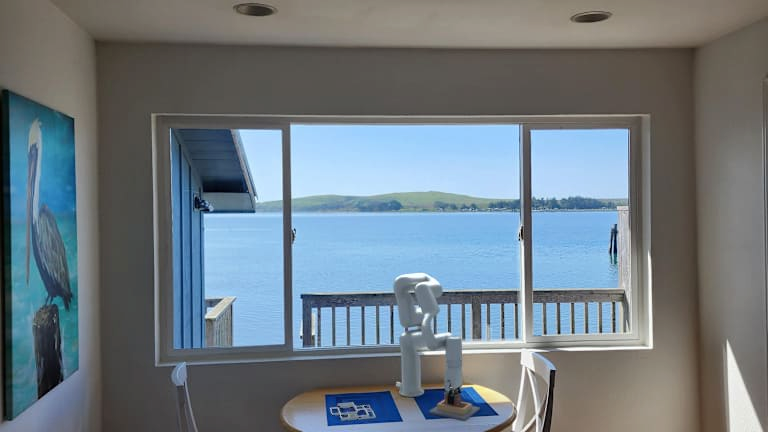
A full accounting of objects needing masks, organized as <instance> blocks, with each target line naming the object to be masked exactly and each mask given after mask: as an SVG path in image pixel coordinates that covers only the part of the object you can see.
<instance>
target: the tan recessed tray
mask: <svg viewBox="0 0 768 432" xmlns="http://www.w3.org/2000/svg"><path fill="white" fill-rule="evenodd" d="M480 409H481V407H479V406H474V405H473V403H470V402H465V401H461V408H460V407H455V406H450V405H445V398H444V399H442V400H441V401H439V402H438V403H437V404H436V406H435V407H433V408H431V409H430V410H428V414H430V415H436V416H440V417H444V418H450V419H455V420H460V421H465V422H466V421H467V420H468V419H470V418H471V417H473V416H474V415H475V414H476V413H477V412H478V411H480Z"/></svg>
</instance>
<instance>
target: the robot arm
mask: <svg viewBox="0 0 768 432" xmlns="http://www.w3.org/2000/svg"><path fill="white" fill-rule="evenodd" d="M392 286H393V287H392V288H393V293H394V295H395V300H396V303H397V312H398V321H399V324H400V326H401V327H402V328H405V329H407V328H408V330H405V331H403V332H402V333H401V334H400V335H399V337H398V341H399V348H400V355H401V357H400V359H401V382H400V381H396V383H395V387H396V388H399V390H398V394H399V395H401V396H403V397H408V398H409V397H411V398H413V397H414V398H415V397H420V396H422V395H424V393H425V390H424V388H422V382H421V357H420V354H419V353H418V351H417V349H422V348H425V347H426V348H427V349H428V350H430V351H432V352H435V351H441V350H445V371H444V380H443V381H444V389H445V390H444V391H445V392H446V393H447V403H448V404H452V405H454V396H453V394H454V390H455V389H458V393H460V394H461V395H462V390H463V389H462V387H463V382H464V380H463V368H462V367H463V341H462V340H463V339H462V337H461V336H460V335H456V334H453V333H452V332H450V331H443V332H438V333H433V330H432V326H431V322H432V319H434V318H435V317H436V316H437V315H438V314H440V312H441V309H440V307H439V304H438V301H437V298H439V297H441V296H442V295H443V286H442V285H441V283H440V282H439V281H438V280H437V279H436V278H434V277H432V276H430V275H428V274H426V273H424V272H415V273H406V274H402V275H399V276H397V277H396V278H395V280H394V282H393V285H392ZM410 292H414V295H415V298H416V300H417V302H418V303H417V304H419V305H418V306H416V307H415V300H414V298H413V296H412V294H411V293H410ZM414 327H417V328H416V329H410V330H409V328H414ZM451 388H452V389H451ZM450 390H452V393H451V391H450Z"/></svg>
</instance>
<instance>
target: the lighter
mask: <svg viewBox="0 0 768 432" xmlns="http://www.w3.org/2000/svg"><path fill="white" fill-rule="evenodd" d="M450 388H451V389H452V387H450ZM450 391H451V393H452V390H450ZM443 395H444V396H443V397H444V399H445V405H450V406H455V407H460V408H461V402H462V393H461V394H460V393H458V389H455V390H454V394H453V396H454V405H452V404H448V403H447V393H446V391H445V392H443Z"/></svg>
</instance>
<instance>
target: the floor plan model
mask: <svg viewBox="0 0 768 432" xmlns="http://www.w3.org/2000/svg"><path fill="white" fill-rule="evenodd" d="M338 406H340V407H338ZM364 406H367V407H366V408H365V407H364ZM350 407H353V409H354V411H345V412H341V411H340V410H341V409H340V408H343V409H351V408H350ZM332 409H337V412H335V413H333V410H332ZM360 410H364V412H365V413H366V414H362V415H358V414H359V412H361V411H360ZM329 412H330V414H332V415H335V416H339V415H340V416H339V418H341V419H340V421H341V422H344V421H346V420H347V421H355V420H357V419H358V421H359V420H369V419H376V418H377V416H376V415H375V413H374V410H373V409H372V408H371V406H370V404H363V405H356V404H355V403H354V402H353V401H352V402H351V401H350V402H343V403H342V402H341V403H337V406H335V407H329ZM368 412H371V413H368ZM357 413H358V414H357ZM370 414H371V415H372V416H370ZM332 415H331V416H332ZM341 415H344V416H347V415H348V416H347V417H343V416H341ZM359 417H361V418H359Z"/></svg>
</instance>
